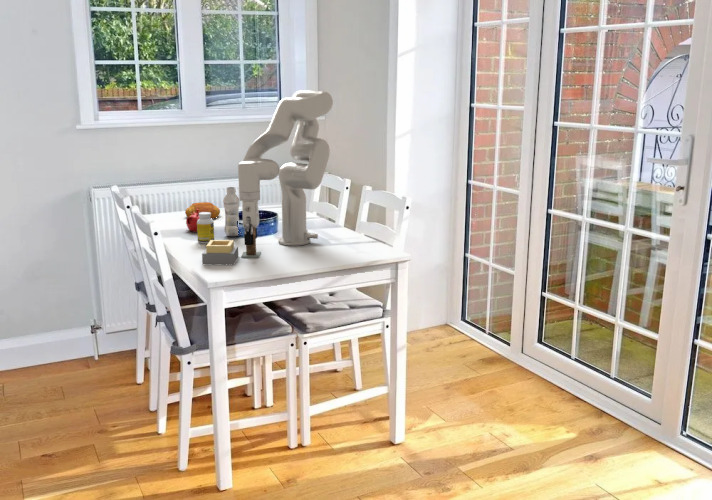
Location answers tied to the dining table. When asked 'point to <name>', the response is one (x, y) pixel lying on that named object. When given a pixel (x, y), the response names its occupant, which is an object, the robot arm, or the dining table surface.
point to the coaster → (251, 255)
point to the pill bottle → (205, 228)
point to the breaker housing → (220, 252)
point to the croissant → (203, 209)
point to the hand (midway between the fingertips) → (250, 241)
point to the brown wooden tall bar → (252, 248)
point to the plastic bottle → (231, 212)
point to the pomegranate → (193, 221)
